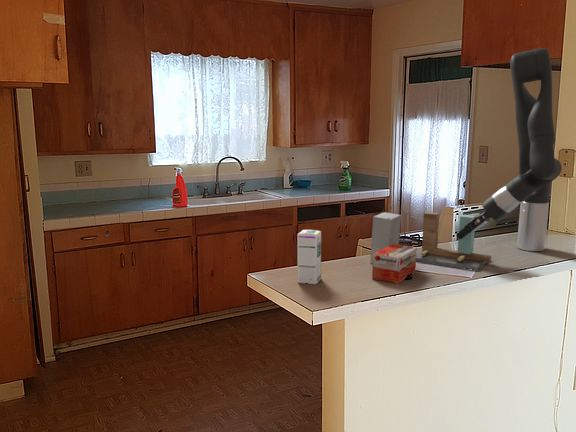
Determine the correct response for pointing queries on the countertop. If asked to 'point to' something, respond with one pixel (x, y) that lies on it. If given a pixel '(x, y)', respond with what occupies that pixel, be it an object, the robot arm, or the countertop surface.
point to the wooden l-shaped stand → (432, 240)
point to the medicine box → (394, 263)
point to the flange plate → (449, 261)
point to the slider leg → (468, 241)
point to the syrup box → (309, 256)
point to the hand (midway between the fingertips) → (460, 235)
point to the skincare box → (385, 231)
